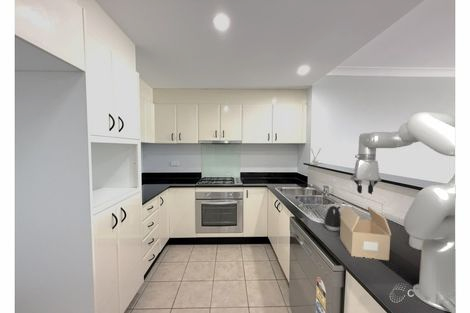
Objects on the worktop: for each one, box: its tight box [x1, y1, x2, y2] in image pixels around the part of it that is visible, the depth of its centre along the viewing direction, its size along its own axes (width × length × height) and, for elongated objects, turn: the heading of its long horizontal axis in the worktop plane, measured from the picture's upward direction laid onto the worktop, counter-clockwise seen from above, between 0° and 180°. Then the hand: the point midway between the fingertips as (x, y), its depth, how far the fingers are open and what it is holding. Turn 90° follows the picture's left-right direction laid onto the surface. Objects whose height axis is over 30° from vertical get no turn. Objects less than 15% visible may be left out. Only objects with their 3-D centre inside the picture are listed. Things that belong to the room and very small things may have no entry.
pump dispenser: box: [323, 205, 341, 232], centre depth 132 cm, size 10×10×15 cm
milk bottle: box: [408, 235, 424, 251], centre depth 111 cm, size 8×8×20 cm
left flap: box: [340, 204, 360, 232], centre depth 110 cm, size 20×8×1 cm
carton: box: [339, 219, 391, 261], centre depth 109 cm, size 20×16×12 cm
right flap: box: [367, 206, 392, 236], centre depth 107 cm, size 20×8×1 cm
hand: (364, 192), depth 108 cm, fingers open, 4 cm apart
